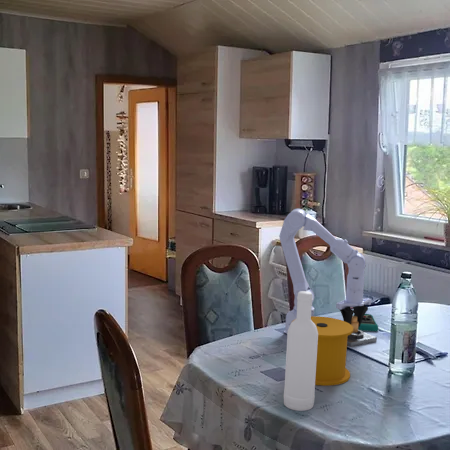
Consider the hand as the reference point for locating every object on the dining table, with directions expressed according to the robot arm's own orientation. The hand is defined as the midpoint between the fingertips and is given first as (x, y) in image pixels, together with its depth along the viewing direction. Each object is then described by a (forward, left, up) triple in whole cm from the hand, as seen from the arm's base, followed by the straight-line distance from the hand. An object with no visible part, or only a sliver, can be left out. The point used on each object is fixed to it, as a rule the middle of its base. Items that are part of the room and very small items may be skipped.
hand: (352, 326), depth 216 cm
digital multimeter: (+16, +10, -5) cm, 20 cm away
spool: (-31, -19, -5) cm, 37 cm away
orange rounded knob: (0, 0, -1) cm, 1 cm away
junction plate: (0, 0, -4) cm, 4 cm away
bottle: (-50, -33, -5) cm, 60 cm away
